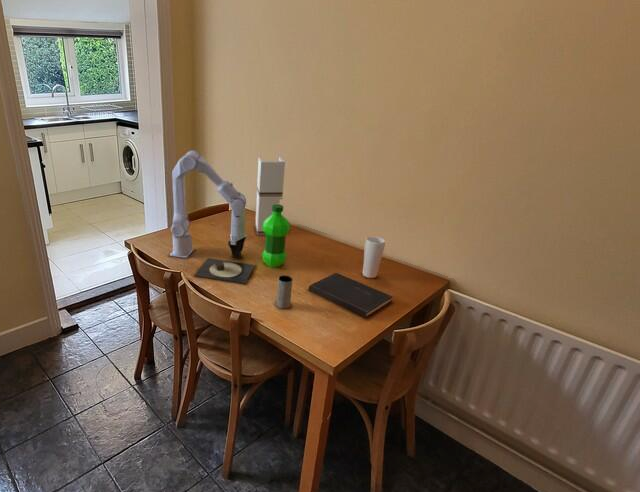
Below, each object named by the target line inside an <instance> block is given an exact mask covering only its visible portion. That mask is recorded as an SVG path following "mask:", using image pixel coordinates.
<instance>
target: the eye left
mask: <svg viewBox="0 0 640 492" xmlns="http://www.w3.org/2000/svg"><path fill="white" fill-rule="evenodd" d="M215 269H216V270H218V271H221V270H224V263H222V262H217V263H216V264H215Z"/></svg>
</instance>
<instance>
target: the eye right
mask: <svg viewBox="0 0 640 492" xmlns="http://www.w3.org/2000/svg"><path fill="white" fill-rule="evenodd" d="M242 255H243V253H242V252H239V255H238V258H234V257H233V256H232V258H233V259H235V260H240V259H242Z"/></svg>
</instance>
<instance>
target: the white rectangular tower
mask: <svg viewBox="0 0 640 492" xmlns="http://www.w3.org/2000/svg"><path fill="white" fill-rule="evenodd" d="M285 166H286V161H285V159H283V157H282V156H279V157H278V161H268V160H267V161H266V160H263V159H262V158H261V156H258V160H257V179H256V180H257V182H256V202H255V226H254V227H255V232H256V235H257V236H266V233H265V232H264V231H263V223H264V221H265V220H266V219H267V218H268V217H269V216H271V215H272V214H273V211H272V206H273V205H275V204H278V205H280V202H281V200H283V194H284V180H285Z"/></svg>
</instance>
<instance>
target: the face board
mask: <svg viewBox="0 0 640 492" xmlns="http://www.w3.org/2000/svg"><path fill="white" fill-rule="evenodd" d="M217 262H222V263H224V270H221V271H218V270H216V269H215V264H216V263H217ZM255 265H256V264H252V263H250V264H249V263H243V262H236V261H229V260H222V259H215V258H207V259H206V261H204V263H203V264H202V266H201V267H200V268H199V269H198V270H197V272H196V273H195V274H194V277H195V278H202V279H208V280H216V281H222V282H227V283H233V284H240V285H246V283H247V282H248V280H249V278H250V275H251V274H252V272H253V270H254V269H255Z"/></svg>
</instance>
